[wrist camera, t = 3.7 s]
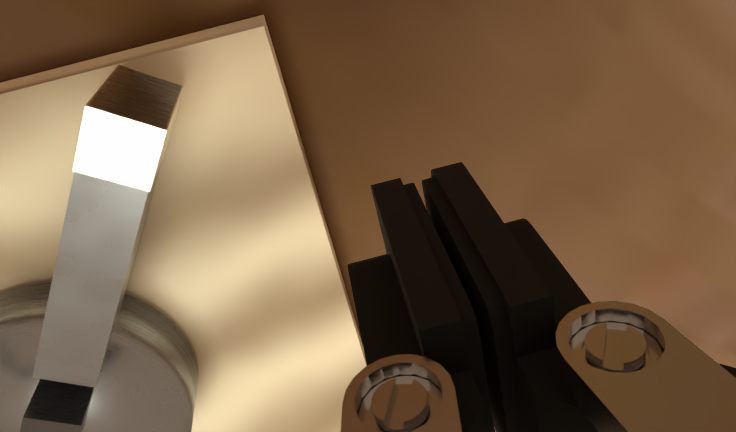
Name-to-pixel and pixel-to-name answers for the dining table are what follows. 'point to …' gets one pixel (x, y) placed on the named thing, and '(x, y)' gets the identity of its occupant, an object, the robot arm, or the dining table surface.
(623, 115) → the dining table surface
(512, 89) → the dining table surface
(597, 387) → the robot arm
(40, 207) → the board
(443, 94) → the dining table surface
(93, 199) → the silver piece
